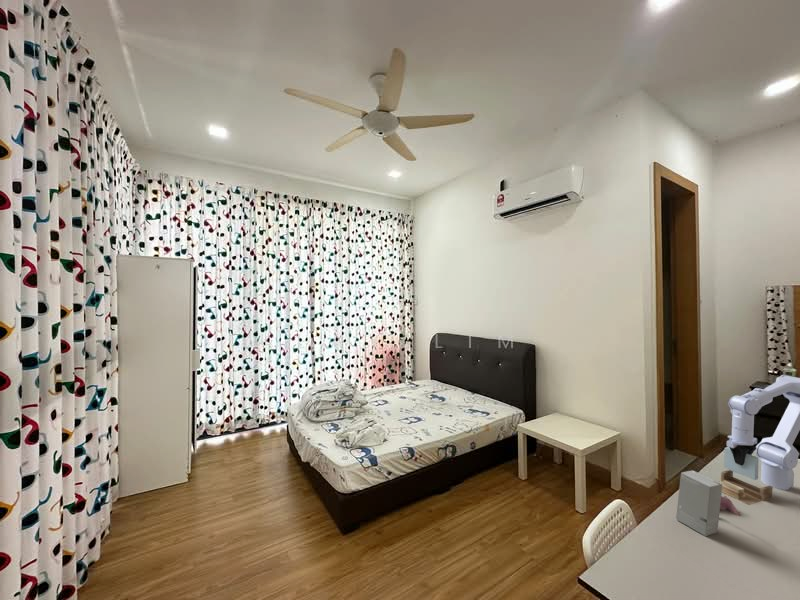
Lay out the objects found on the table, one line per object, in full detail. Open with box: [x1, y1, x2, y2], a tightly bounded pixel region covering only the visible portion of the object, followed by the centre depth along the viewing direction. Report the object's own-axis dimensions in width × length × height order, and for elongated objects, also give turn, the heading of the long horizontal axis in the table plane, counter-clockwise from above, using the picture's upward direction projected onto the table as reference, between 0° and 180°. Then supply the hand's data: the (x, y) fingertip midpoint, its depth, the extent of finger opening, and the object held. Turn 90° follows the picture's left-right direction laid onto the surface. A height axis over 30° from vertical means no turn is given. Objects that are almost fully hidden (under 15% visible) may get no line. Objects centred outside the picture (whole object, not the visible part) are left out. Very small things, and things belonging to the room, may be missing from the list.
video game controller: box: [720, 494, 740, 517], centre depth 112 cm, size 10×5×7 cm, turn 85°
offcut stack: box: [719, 480, 745, 500], centre depth 121 cm, size 4×6×3 cm, turn 18°
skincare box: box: [675, 470, 723, 537], centre depth 105 cm, size 8×7×16 cm
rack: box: [720, 469, 774, 505], centre depth 122 cm, size 14×12×5 cm
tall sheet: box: [723, 446, 759, 481], centre depth 126 cm, size 2×9×8 cm, turn 18°
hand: (741, 463), depth 126 cm, fingers closed on tall sheet, 2 cm apart
